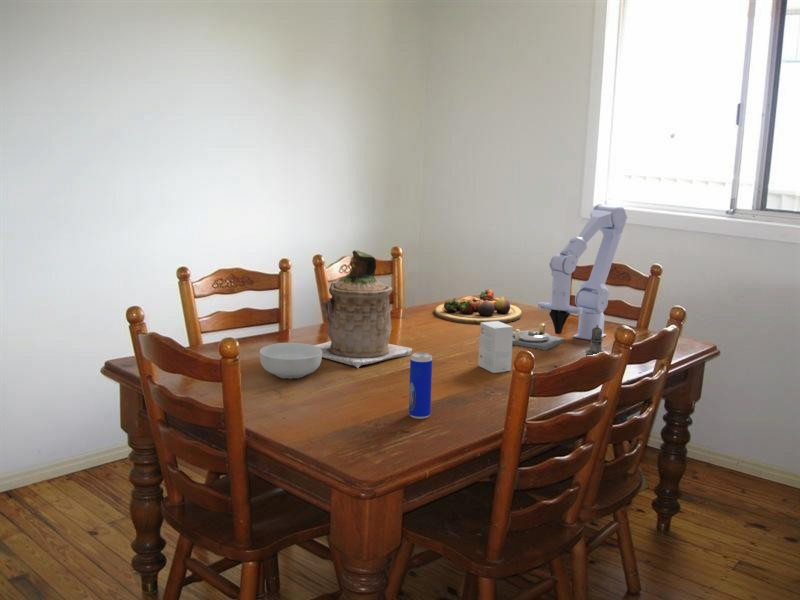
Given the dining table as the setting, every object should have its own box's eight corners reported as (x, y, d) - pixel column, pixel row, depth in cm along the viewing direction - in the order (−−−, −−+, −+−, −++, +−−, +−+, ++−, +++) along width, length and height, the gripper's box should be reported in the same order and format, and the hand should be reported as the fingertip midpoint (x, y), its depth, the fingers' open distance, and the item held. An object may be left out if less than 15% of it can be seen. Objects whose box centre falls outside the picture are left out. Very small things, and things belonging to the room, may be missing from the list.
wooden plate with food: (464, 302, 334) (464, 281, 332) (537, 313, 316) (537, 291, 314) (417, 317, 309) (417, 295, 307) (494, 330, 290) (494, 307, 289)
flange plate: (519, 330, 282) (520, 319, 282) (555, 337, 275) (556, 325, 275) (504, 337, 274) (504, 325, 273) (540, 343, 266) (541, 331, 266)
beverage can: (407, 412, 205) (409, 352, 201) (429, 412, 205) (431, 352, 202) (409, 419, 200) (411, 357, 196) (431, 419, 200) (433, 358, 197)
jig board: (519, 333, 284) (520, 319, 283) (564, 341, 275) (565, 327, 274) (500, 342, 273) (500, 327, 272) (545, 350, 264) (546, 335, 263)
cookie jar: (415, 354, 256) (418, 249, 250) (357, 370, 238) (358, 257, 232) (358, 339, 273) (360, 240, 266) (299, 352, 255) (299, 247, 248)
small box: (511, 371, 241) (513, 326, 238) (492, 373, 238) (494, 328, 236) (496, 363, 248) (498, 320, 245) (477, 366, 245) (479, 322, 243)
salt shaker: (605, 367, 247) (608, 327, 244) (584, 366, 248) (587, 326, 246) (604, 362, 252) (607, 323, 250) (584, 360, 254) (587, 321, 251)
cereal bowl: (271, 387, 221) (271, 361, 220) (251, 370, 236) (251, 345, 234) (331, 379, 229) (331, 354, 228) (308, 363, 243) (308, 339, 242)
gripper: (534, 290, 271) (532, 332, 273) (577, 296, 263) (574, 339, 265) (544, 287, 276) (541, 328, 279) (586, 293, 268) (583, 335, 271)
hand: (558, 333), depth 273 cm, fingers closed
